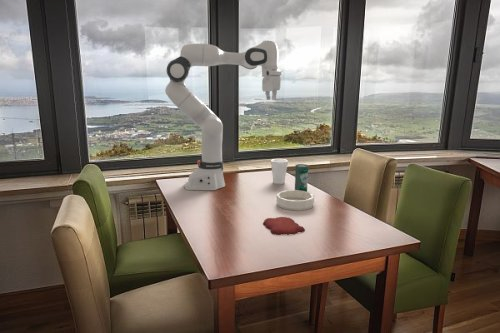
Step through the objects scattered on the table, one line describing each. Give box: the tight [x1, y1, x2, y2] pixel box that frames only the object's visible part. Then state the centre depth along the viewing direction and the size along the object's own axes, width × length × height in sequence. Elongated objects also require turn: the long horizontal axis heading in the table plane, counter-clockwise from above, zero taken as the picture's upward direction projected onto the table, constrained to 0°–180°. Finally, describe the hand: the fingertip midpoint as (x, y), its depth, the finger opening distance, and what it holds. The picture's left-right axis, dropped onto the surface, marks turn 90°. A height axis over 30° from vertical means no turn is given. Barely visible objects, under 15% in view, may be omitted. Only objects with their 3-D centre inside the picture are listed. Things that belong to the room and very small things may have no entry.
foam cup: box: [270, 158, 289, 185], centre depth 213 cm, size 10×9×13 cm
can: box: [294, 163, 309, 192], centre depth 193 cm, size 6×6×15 cm
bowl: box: [275, 189, 315, 212], centre depth 177 cm, size 17×17×4 cm
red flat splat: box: [262, 216, 305, 236], centre depth 151 cm, size 18×14×2 cm
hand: (271, 99), depth 199 cm, fingers open, 8 cm apart
